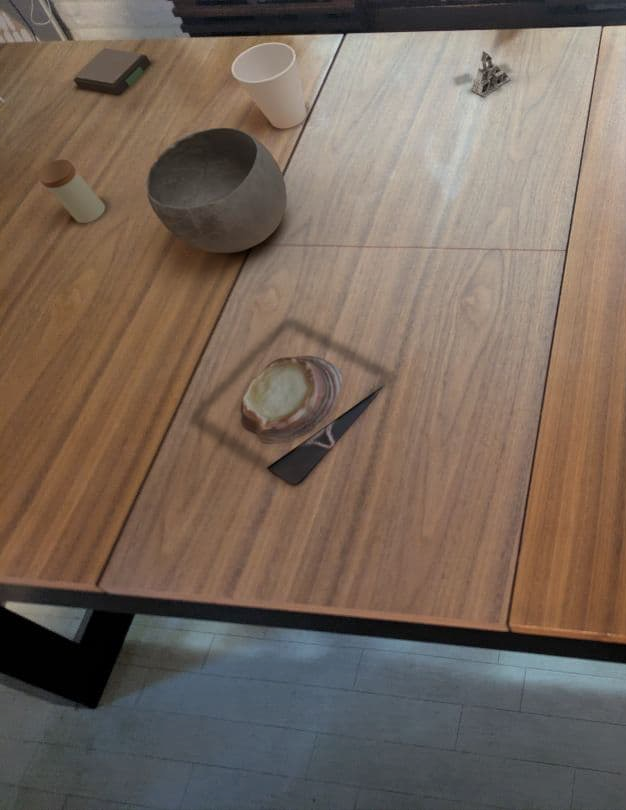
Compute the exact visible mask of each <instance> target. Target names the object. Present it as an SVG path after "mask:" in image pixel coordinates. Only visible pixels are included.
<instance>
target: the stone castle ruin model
mask: <svg viewBox="0 0 626 810" xmlns="http://www.w3.org/2000/svg"><path fill="white" fill-rule="evenodd" d="M492 60H493V57H491V55H490V54H489V53H488V52H486V51H484V50H482V54H481V59H480V62H481V64H482V68H481V67H478V69H477V74H476V78H474V79H473V82H472V83H473V84H472V87H471V89H470V90H471V91H472V92H474V93H475V94H476V95H477V96H480V97H483V98H484V99H485V98H486V97H487V96H488V95H490V94H492V93H493V92H494V91H496V90H498V89H499V88H501V87H502V86H503V85H505V84H507V83H508V82H510V81H512V77H510V76H508V74H507V73H506V72H505V71H504V70H502V69H500V68H499V66H498V65H497V64H495V63H494V62H492Z"/></svg>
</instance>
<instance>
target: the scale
mask: <svg viewBox="0 0 626 810" xmlns="http://www.w3.org/2000/svg"><path fill="white" fill-rule="evenodd" d="M151 65H152V62H151V61H150V59H149V57H148V56H147V55H146V54H142V53H139V52H134V51H133V52H132V51H127V50H120V49H115V48H106V47H104V48H103V49H102V50H101V51H99V53H97V54H96V55H95V56H94V57H93V58H92V59H91V60H90V61H89V62H88V63H87V64H86V65H85V66H84V67H83V68H82V69H81V70H80V71H78V72H77V73H76V74H75V75H74V78H73V82H74V83H75V85H76V87H77V88H78V89H80V90H85V91H86V90H87V91H92V92H99V93H104V94H109V95H115V96H121V95H122V94H123V93H125V91H126V90H127V89H128V88H130V87H131V86H133V84H135V82H136V81H138V79H139V78H140V77H141V76H142V75H143V74H144V73H145V71H146V70H147V69H148V67H150V66H151Z"/></svg>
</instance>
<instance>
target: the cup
mask: <svg viewBox="0 0 626 810" xmlns="http://www.w3.org/2000/svg"><path fill="white" fill-rule="evenodd" d="M230 70H231V75H232V76H233V78H234V79H235V80H237V82H238V83H239V84H240V85H241V87H242V88H243V90H245V92H246V93H247V94H248V96H249V98H251V100H252V101H253V102H254V103H255V105H256V106H257V107H258V108H259V110H260V111H261V112H262V113H263V115H264V116H265V118H266V119H267V120H268V121H269V122H270V124H271V125H272V126H273V127H274V128H276V129H281V130H282V129H283V130H284V129H290V128H294V127H296V126H299V124H301V123H302V122H303V121H304V120H305V118H306V117H307V107H306V104H305V103H306V102H305V98H304V93H303V87H302V83H301V78H300V77H301V76H300V72H299V67H298V63H297V55H296V51H295V49H293V48H292V47H291V45H288V44H286V43H282V42H272V41H271V42H263V43H260V44H257V45H255V46H251V47H249V48H248V49H245V50H244V51H242V52H241V53H240V54H239V55H238V56H237V57H236V58H235V59H234V60H233V62H232V64H231V68H230Z"/></svg>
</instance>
